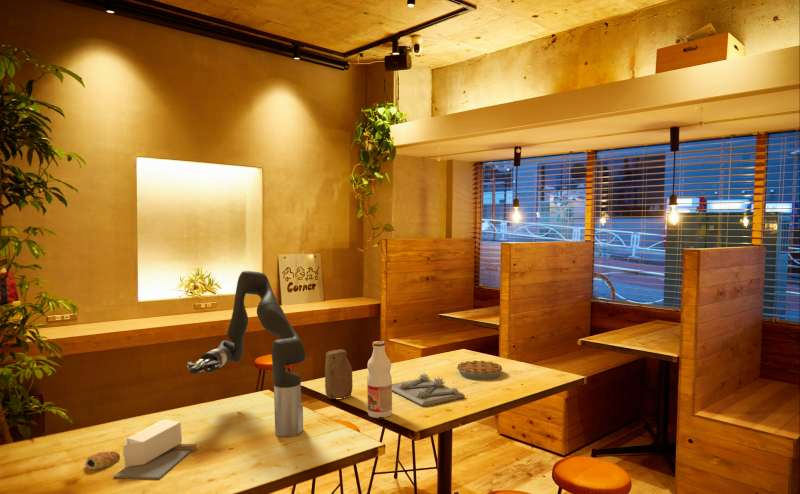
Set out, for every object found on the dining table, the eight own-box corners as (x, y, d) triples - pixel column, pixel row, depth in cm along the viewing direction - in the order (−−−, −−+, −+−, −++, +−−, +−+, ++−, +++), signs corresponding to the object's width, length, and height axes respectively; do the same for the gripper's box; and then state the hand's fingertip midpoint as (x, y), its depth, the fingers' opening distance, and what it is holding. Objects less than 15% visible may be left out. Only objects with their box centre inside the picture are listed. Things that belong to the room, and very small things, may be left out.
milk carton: (180, 421, 180) (131, 448, 163) (182, 442, 181) (133, 470, 164) (164, 418, 183) (114, 443, 166) (166, 438, 184) (116, 466, 166)
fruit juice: (391, 418, 206) (390, 344, 205) (366, 418, 206) (365, 344, 205) (392, 410, 215) (391, 339, 214) (368, 410, 215) (367, 339, 214)
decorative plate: (386, 390, 243) (385, 374, 243) (426, 382, 255) (426, 367, 254) (423, 408, 218) (423, 391, 217) (466, 399, 229) (466, 382, 229)
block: (330, 401, 227) (329, 353, 226) (324, 396, 233) (323, 350, 233) (354, 397, 232) (353, 350, 231) (348, 393, 238) (347, 347, 237)
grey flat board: (196, 449, 180) (196, 444, 180) (162, 479, 159) (162, 473, 159) (149, 448, 181) (149, 443, 181) (110, 477, 160) (110, 471, 160)
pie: (506, 380, 255) (506, 369, 254) (458, 381, 255) (458, 370, 255) (498, 368, 276) (498, 358, 276) (455, 368, 277) (454, 358, 277)
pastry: (111, 456, 176) (111, 444, 176) (125, 460, 173) (125, 448, 173) (83, 468, 168) (82, 455, 167) (97, 472, 164) (96, 460, 164)
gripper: (196, 350, 212) (174, 360, 195) (229, 350, 211) (210, 360, 194) (197, 369, 212) (175, 381, 195) (230, 369, 211) (210, 381, 194)
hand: (192, 371), depth 194 cm, fingers closed
